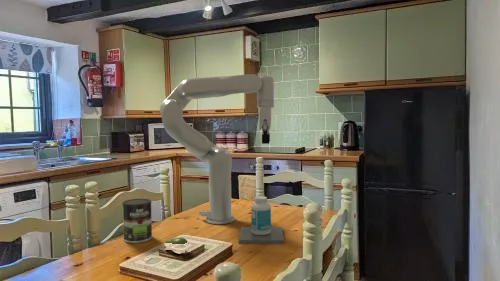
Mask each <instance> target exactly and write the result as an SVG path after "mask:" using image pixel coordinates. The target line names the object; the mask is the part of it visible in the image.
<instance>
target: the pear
mask: <svg viewBox="0 0 500 281" xmlns="http://www.w3.org/2000/svg"><path fill="white" fill-rule="evenodd" d="M187 242H188V240H187V239H186V238H184V237H175V238H169V239H167V240H166V241H164V244H165V243H172V244H185V243H187ZM188 243H189V242H188Z"/></svg>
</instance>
